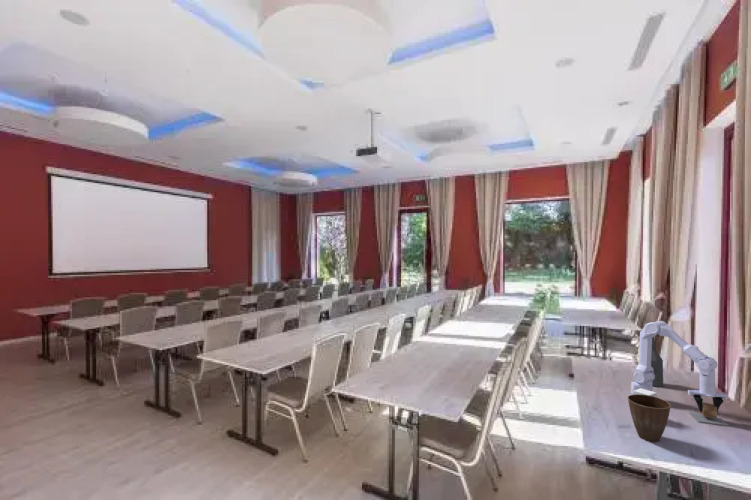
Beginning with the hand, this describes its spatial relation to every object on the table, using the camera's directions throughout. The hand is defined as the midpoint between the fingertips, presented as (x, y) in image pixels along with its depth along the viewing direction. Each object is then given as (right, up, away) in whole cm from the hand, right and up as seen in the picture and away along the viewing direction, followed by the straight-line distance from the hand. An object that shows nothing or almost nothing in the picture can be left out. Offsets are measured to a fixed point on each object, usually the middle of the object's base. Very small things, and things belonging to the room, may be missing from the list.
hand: (707, 411), depth 178 cm
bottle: (+9, -4, +47) cm, 48 cm away
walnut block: (0, -2, 0) cm, 2 cm away
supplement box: (-28, -4, +3) cm, 28 cm away
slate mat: (0, -4, 0) cm, 4 cm away
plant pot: (-40, -4, -17) cm, 44 cm away
